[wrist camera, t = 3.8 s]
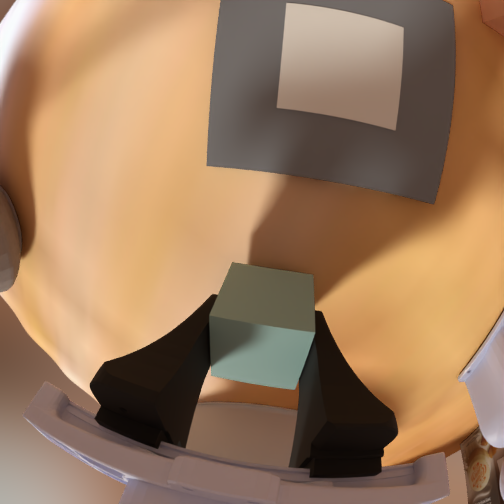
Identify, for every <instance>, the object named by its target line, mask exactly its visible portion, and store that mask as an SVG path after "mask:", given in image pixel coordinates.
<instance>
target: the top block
mask: <svg viewBox="0 0 504 504" xmlns="http://www.w3.org/2000/svg"><path fill="white" fill-rule="evenodd" d="M479 1H480V7H481V13H482V21H483V23H485V24H486V25H488V26H489V27H491V28H492V29H494V30H495V31H497V32H498V33H500V34H501V35H502V36H504V0H479Z"/></svg>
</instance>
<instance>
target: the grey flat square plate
mask: <svg viewBox="0 0 504 504" xmlns="http://www.w3.org/2000/svg"><path fill="white" fill-rule="evenodd" d="M455 64H456V46H455V24H454V12H453V5H451V4H449V3H447V2H445V1H443V0H221V2H220V9H219V17H218V25H217V34H216V43H215V52H214V62H213V73H212V85H211V98H210V112H209V128H208V146H207V166H213V167H225V168H236V169H245V170H254V171H263V172H271V173H279V174H286V175H293V176H300V177H307V178H313V179H319V180H325V181H331V182H336V183H342V184H347V185H352V186H357V187H362V188H367V189H372V190H377V191H381V192H386V193H390V194H395V195H399V196H403V197H407V198H411V199H415V200H419V201H423V202H427V203H430V204H434V203H435V199H436V195H437V192H438V188H439V184H440V179H441V175H442V171H443V166H444V161H445V156H446V151H447V145H448V139H449V133H450V126H451V118H452V110H453V100H454V87H455Z"/></svg>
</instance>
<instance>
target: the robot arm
mask: <svg viewBox="0 0 504 504" xmlns="http://www.w3.org/2000/svg"><path fill="white" fill-rule="evenodd" d="M217 296H218V295H216V294H212V295H211V296H210V297H209V298H208V299H207V300H206V301H205V302H204V303H203V304H202V305H201V306H200V307H199V308H198V309H197V310H196V311H195V312H194V313H193V314H192V315H190V316H189V317H188V318H187V319H186V320H185V321H183V322H182V323H181V324H180V325H178V326H177V327H176V328H175V329H173V330H172V331H171V332H169V333H168V334H166V335H165V336H163V337H162V338H160V339H158V340H157V341H155V342H153V343H151V344H150V345H148V346H146V347H144V348H142V349H140V350H137V351H135V352H133V353H130V354H128V355H125V356H123V357H119V358H116V359H113V360H110V361H106V362H104V364H103V365H102V366H101V367H100V369H99V370H98V372H97V373H96V375H95V376H94V378H93V379H92V381H91V383H90V389H91V391H92V393H93V394H94V396H95V397H96V399H97V400H98V402H99V403H100V405H101V407H100V409H99V411H98V413H97V414H95V413H93V412H91V411H89V410H87V409H85V408H83V407H81V406H79V405H77V404H75V403H74V402H72V401H70V399H69V398H68V396H67V395H66V394H65V393H64V392H63V391H62V390H60V389H59V388H57V387H56V386H54V385H52V384H51V383H49V382H47V381H45V382H44V384H43V385H42V386H41V388H40V389H39V391H38V392H37V394H36V395H35V397H34V398H33V400H32V401H31V403H30V404H29V406H28V407H27V409H26V410H25V412H24V413H23V417H25V419H26V420H27V421H29V423H30V424H32V425H33V426H34V427H35V428H36V429H37V430H38V431H39V432H40V433H42V435H43V436H45V437H46V438H47V439H48V440H50V441H51V442H53V443H54V444H56V445H57V446H59V447H60V448H62V449H63V450H65V451H66V452H68V453H69V454H71V455H73V456H74V457H76V458H77V459H79V460H81V461H82V462H84V463H86V464H87V465H89V466H91V467H93V468H94V469H96V470H98V471H100V472H102V473H103V474H106V475H107V476H109V477H111V478H113V479H115V480H117V481H119V482H121V483H123V484H126V487H125V489H124V492H123V494H122V497H121V499H120V502H119V504H431V503H433V502H435V501H438V500H440V499H442V498H445V497H447V496H449V494H450V489H449V480H448V472H447V465H446V458H445V453H444V452H440V453H435V454H430V455H426V456H423V457H421V458H419V459H417V460H416V461H415V462H414V463H408V464H402V465H394V466H385V467H382V466H381V457H383V456H384V449H383V448H384V447H386V446H387V445H388V444H389V443H390V442H392V441H393V440H394V439H395V437H396V436H397V434H398V428H397V422H396V418H395V415H394V412H393V411H392V410H390V409H389V408H388V407H387V406H385V405H384V404H383V403H382V402H381V401H379V400H378V399H377V398H376V397H375V396H374V395H373V394H372V393H371V392H370V391H369V390H368V389H367V387H366V386H365V385H364V384H363V383H362V382H361V381H360V379H359V378H358V377H357V376H356V374H355V373H354V372H353V370H352V369H351V367H350V366H349V364H348V363H347V361H346V360H345V358H344V357H343V355H342V353H341V351H340V350H339V348H338V346H337V344H336V342H335V340H334V338H333V336H332V334H331V332H330V330H329V327H328V325H327V323H326V320H325V318H324V315H323V313H322V312H321V311H316V310H315V335H314V338H313V341H312V344H311V347H310V350H309V353H308V355H307V358H306V361H305V364H304V367H303V369H302V372H301V375H300V377H299V404H298V412H297V420H296V427H295V434H294V440H293V446H292V451H291V457H290V462H289V467H279V466H270V465H262V464H255V463H248V462H242V461H237V460H231V459H226V458H222V457H217V456H213V455H208V454H204V453H200V452H196V451H193V450H189V449H186V445H187V440H188V436H189V432H190V428H191V424H192V420H193V416H194V413H195V409H196V405H197V402H198V398H199V395H200V392H201V388H202V385H203V382H204V380H205V377H206V375H207V372H208V370H209V368H210V365H211V358H210V326H209V315H210V312H211V310H212V308H213V306H214V303H215V301H216V299H217ZM458 381H459V382H464V381H465V383H466V386H467V389H468V392H469V395H470V397H471V400H472V404H473V407H474V410H475V413H476V416H477V420H478V423H479V427H480V430H481V432H482V434H483V436H484V438H485V439H486V441H487V442H488V443H489V444H490V445H492V446H493V447H497V448H504V311H503V313H502V315H501V316H500V318H499V320H498V321H497V323H496V325H495V326H494V328H493V329H492V331H491V332H490V334H489V335H488V337H487V339H486V340H485V341H484V343H483V344H482V346H481V347H480V349H479V350H478V351H477V353H476V354H475V356H474V357H473V358H472V360H471V361H470V362H469V364H468V365H467V366H466V367H465V369H464V370H463V371H462V373H461V374H460V375H459V376H458ZM500 492H501V495H502V498H503V500H504V461H503V464H502V468H501V473H500Z"/></svg>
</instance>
